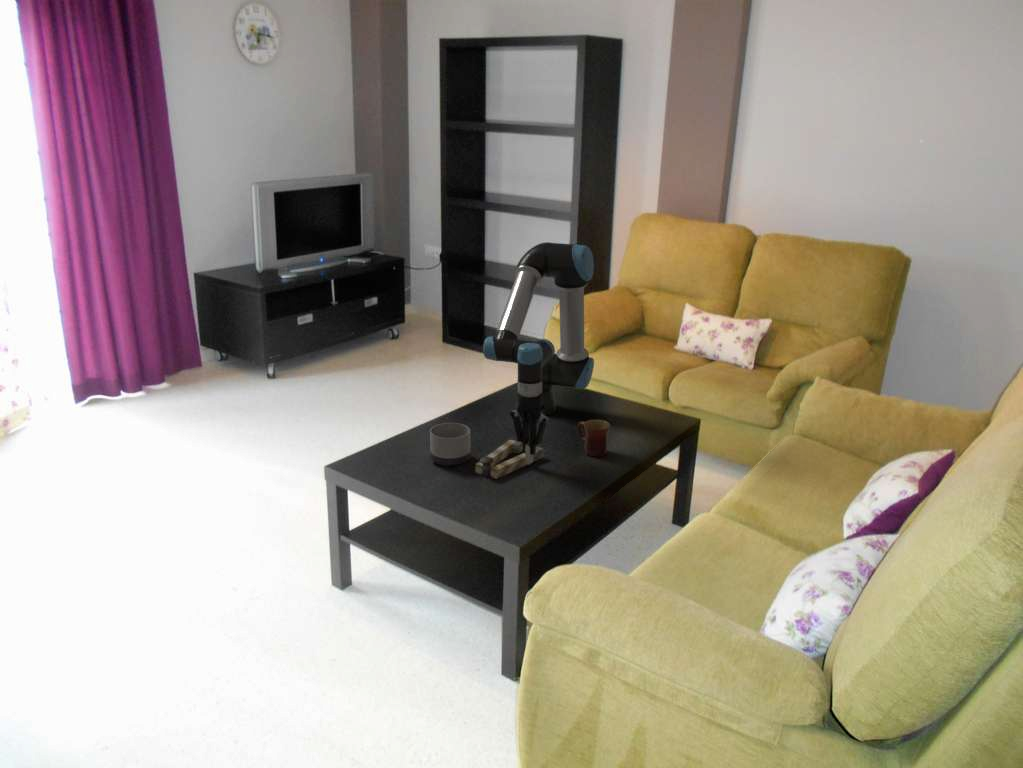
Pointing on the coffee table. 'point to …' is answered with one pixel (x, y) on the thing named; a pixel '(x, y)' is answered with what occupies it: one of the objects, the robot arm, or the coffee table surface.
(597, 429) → the mug
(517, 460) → the tongs jaw
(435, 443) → the planter
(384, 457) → the coffee table surface
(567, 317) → the robot arm
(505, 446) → the tongs fixed
